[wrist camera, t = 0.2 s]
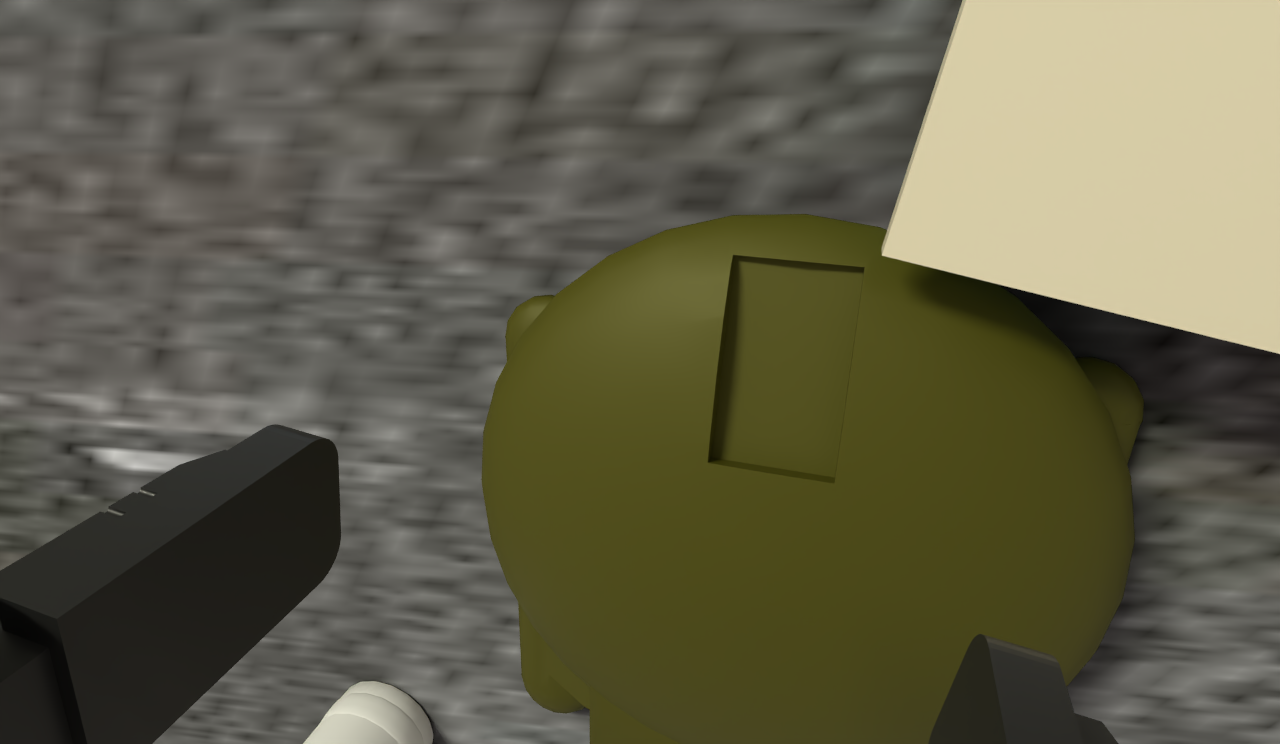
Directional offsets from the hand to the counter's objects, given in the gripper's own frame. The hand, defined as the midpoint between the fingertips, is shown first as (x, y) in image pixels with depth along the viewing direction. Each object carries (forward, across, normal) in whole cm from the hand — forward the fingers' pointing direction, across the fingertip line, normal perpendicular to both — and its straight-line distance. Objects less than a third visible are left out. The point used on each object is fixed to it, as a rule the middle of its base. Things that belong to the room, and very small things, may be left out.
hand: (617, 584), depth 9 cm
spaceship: (+30, -2, +18) cm, 34 cm away
